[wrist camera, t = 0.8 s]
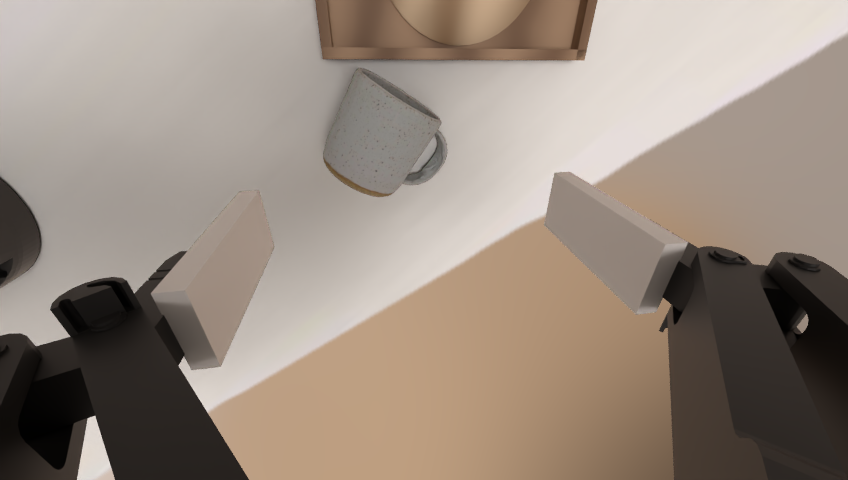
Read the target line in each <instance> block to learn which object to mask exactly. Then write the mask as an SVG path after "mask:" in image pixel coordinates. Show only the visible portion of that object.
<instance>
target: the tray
mask: <svg viewBox="0 0 848 480" xmlns="http://www.w3.org/2000/svg"><path fill="white" fill-rule="evenodd" d="M315 2H316V10H317V17H318V25H319V33H320V41H321V49H322V57H323V59H425V60H584V59H585V55H586V50H587V45H588V41H589V36H590V32H591V27H592V23H593V18H594V14H595V9H596V4H597V0H315Z"/></svg>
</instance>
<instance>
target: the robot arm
mask: <svg viewBox="0 0 848 480" xmlns="http://www.w3.org/2000/svg"><path fill="white" fill-rule="evenodd" d="M544 226H546V227H547V228H548V229H549V230H550V231H551V232H552V233H553V234H554V235H555V236H556V237H557V238H558V239H559V240H560V241H561V242H562V243H563V244H564V245H565V246H566V247H567V248H568V249H569V250H570V251H571V252H572V253H573V254H574V255H575V256H576V257H577V258H578V259H579V260H580V261H581V262H583V264H585V265H586V266H587V267H588V268H589V269H590V270H591V271H592V272H593V273H594V274H595V275H596V276H597V277H598V278H599V279H600V280H601V281H602V282H603V283H604V284H605V285H606V286H607V287H608V288H609V289H610V290H611V291H612V292H613V293H614V294H615V295H616V296H617V297H618V298H619V299H620V300H621V301H622V302H624V304H626V305H627V306H628V307H629V308H630V309H631V310H632V311H633V312H634V313H635V314H636V315H637V314H645V313H652V312H656V311H657V309H658V307H659V305H660V303H661V300H662V298H664V299H666V300H667V301H668V302H669V303H670V304H672V305H671V307H670V309H669V311H668V313H667V315H666V317H665V319H664V321H663V323H662V326H661V327H660V330H659V331H661V332H663V331H664V329H665V328H668V343H669V368H670V390H671V415H672V437H673V462H674V480H848V279H847V278H845V277H844V276H843V275H841V274H840V273H839V272H837V271H836V270H835V269H834V268H832V267H831V266H829V265H827V264H825V263H824V262H821V261H819V260H817V259H816V258H814V257H811V256H807V255H804V254H795V253H788V252H780V253H776V254H775V255H774V257H773V259H772V260H771V262H770V264H769V265H768V266H764V265H754V264H752V263H751V262H750V261H749V260H748V259H747V258H746V257H744V256H742V255H740V254H738V253H736V252H733V251H730V250H727V249H723V248H719V247H712V246H706V247H701V248H697V247H696V246H694V245H692V244H690V243H689V242H687V241H685V240H684V239H682V238H680V237H679V236H677V235H675V234H674V233H671V232H670V231H669V230H667V229H665V228H663V227H661V226H660V225H658V224H657V223H655V222H654V221H652V220H650V219H648V218H646V217H645V216H643V215H641V214H639V213H638V212H636V211H634V210H633V209H631V208H629V207H628V206H626V205H624V204H623V203H621V202H619V201H617V200H616V199H614V198H613V197H611V196H609V195H608V194H606V193H604V192H603V191H601V190H599V189H598V188H596V187H594V186H593V185H591V184H589V183H587V182H586V181H584V180H582V179H581V178H579V177H577V176H576V175H574V174H572V173H571V172H560V173H554V178H553V183H552V188H551V193H550V198H549V203H548V208H547V213H546V218H545V223H544ZM39 249H40V236H39V232H38V228H37V225H36V223H35V221H34V219H33V217H32V215H31V213H30V211H29V210H28V208H27V207H26V206H25V204H24V203H23V202H22V200H21V199H20V198H19V197H18V196H17V194H16V193H15V192H14V191H13V190H12V189H11V188H10V187H9V186H8V185H7V184H5V183H4V182H3V181H2V180H1V179H0V288H1V287H3V286H5V285H6V284H8V283H9V282H11V281H12V280H14V279H16V278H17V277H19V276H20V275H22V274H23V273H25V272H26V271H27V270H28V269H29V268H30V267H31V266H32V265H33V264H34V262H35V261H36V259H37V257H38V254H39ZM273 249H274V244H273V240H272V236H271V233H270V229H269V225H268V222H267V218H266V214H265V211H264V207H263V203H262V199H261V196H260V192H259V190H258V191H241V192H239V193H238V194H237V195H236V196H235V197H234V198H233V200H232V201H231V202H230V203H229V204H228V205H227V206H226V208H225V209H224V210H223V211H222V212H221V213H220V214H219V216H218V217H217V218H216V219H215V220H214V221H213V223H212V224H211V225H210V226H209V227H208V228H207V229H206V231H205V232H204V233H203V234H202V235H201V236H200V237H199V239H198V240H197V241H196V242H195V243H194V244H193V245H192V247H191V248H190V249H189V250H188V251H181V252H179V253H177V254H175V255H174V256H172V257H171V258H169V259H167V260H166V261H165V262H164V263H163V264H162V265H161V266H160V267H159V268H158V269H157V270H156V272H154V273H153V275H152V276H151V277H150V278H149V281H146V282H145V283H144V284H143V285H142V286H141V287H140V288H139V289H138V291H137V292H136V293H135V294H134V293H133V291H132V289H131V287H130V286H129V284H128V282H127V281H126V280H124V279H123V278H117V277H110V278H103V279H98V280H94V281H91V282H87V283H84V284H82V285H80V286H77V287H75V288H73V289H71V290H69V291H67V292H66V293H64V294H62V295H61V296H59V297H58V298H57V299H56V300H55V301H54V302H53V303H52V306H51V309H50V310H51V311H52V313H53V314H54V315H55V317H56V318H57V319H58V321H59V322H60V323H61V324H62V326H63V327H64V328H65V330H66V331H67V332H68V334H69V335H70V336H71V337H69V338H65V339H61V340H58V341H54V342H51V343H47V344H43V345H40V346H35V345H34V344H33V343H32V341H31V340H30V339H29V338H28V337H27V336H25V335H23V334H7V335H2V336H0V480H77V475H78V469H79V464H80V458H81V452H82V447H83V441H84V435H85V430H86V424H87V418H89V417H92V416H96V419H97V422H98V426H99V429H100V432H101V435H102V439H103V442H104V445H105V448H106V452H107V455H108V458H109V461H110V465H111V468H112V471H113V474H114V477H115V480H249V479H248V477H247V476H246V474H245V473H244V471H243V469H242V468H241V466H240V465H239V463H238V461H237V460H236V458H235V456H234V455H233V453H232V452H231V450H230V449H229V447H228V445H227V444H226V442H225V441H224V439H223V437H222V436H221V434H220V432H219V431H218V429H217V427H216V426H215V424H214V423H213V421H212V419H211V418H210V416H209V415H208V413H207V411H206V410H205V408H204V407H203V405H202V403H201V402H200V400H199V399H198V397H197V395H196V394H195V392H194V390H193V389H192V387H191V386H190V384H189V382H188V381H187V379H186V378H185V376H184V374H183V373H182V371H181V370H180V368H179V366H178V365H179V364H180V362H181V360H182V358H183V357H185V359H186V361H187V362H188V364H189V366H190V368H191V370H197V369H205V368H213V367H221V365H222V363H223V360H224V358H225V356H226V354H227V351H228V349H229V347H230V345H231V343H232V340H233V338H234V336H235V334H236V331H237V329H238V327H239V325H240V323H241V320H242V318H243V316H244V314H245V311H246V309H247V307H248V305H249V303H250V300H251V298H252V296H253V294H254V291H255V289H256V287H257V285H258V283H259V280H260V278H261V276H262V274H263V271H264V269H265V267H266V265H267V263H268V260H269V258H270V256H271V254H272V251H273ZM806 314H807V315H808V319H809V321H808V326H807V328H806V330H805V331H804V332H803V333H801V332H800V331H799V330H798V328H797V325H798V324H799V323H800V322H801V320H802V319H803V318H804V316H805V315H806Z"/></svg>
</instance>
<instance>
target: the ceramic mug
mask: <svg viewBox="0 0 848 480" xmlns="http://www.w3.org/2000/svg"><path fill="white" fill-rule="evenodd" d="M440 124H441V120H440V119H439V118H438V116H436V115H435V114H434V113H433V112H432V111H430V110H429V109H428V108H426V107H425V106H424V105H422V104H421V103H420V102H418V101H417V100H416V99H414V98H413V97H411V96H409V95H408V94H406V93H405V92H404V91H402V90H401V89H399V88H398V87H396V86H394V85H393V84H391V83H390V82H388V81H386V80H385V79H383V78H381V77H379V76H378V75H376V74H374V73H372V72H370V71H368V70H365V69H362V68H358V69H357V70H356V72H355V74H354V76H353V79H352V81H351V84H350V86H349V88H348V91H347V93H346V95H345V98H344V100H343V102H342V105H341V107H340V109H339V112H338V115H337V117H336V119H335V122H334V124H333V126H332V128H331V131H330V133H329V135H328V137H327V140H326V144H325V148H324V152H323V158H324V162H325V164H326V166H327V168H328V169H329V171H330V172H331V173H332V174H333V175H334V176H335V177H336V178H338V179H339V180H340V181H341V182H343V183H344V184H346V185H348V186H349V187H351V188H353V189H355V190H357V191H359V192H362V193H364V194H368V195H371V196H376V197H384V196H389V195H391V194H392V193H394V192H395V191H396V190H397V189H398V187H399V186H400V185H401V184H402V183H403V184H406V185H419V184H421V183H424V182H426V181H428V180H429V179H431V178H432V177H433V176H434V175H435V174H436V173H437V172H438V171H439V170H440V168H441V167H442V165H443V164H444V162H445V159H446V156H447V144H446V140H445V139H444V137H443V135H442V133H441V132H440V131H439V130H438V128H439V126H440ZM434 134H435V136H436V137H437V141H438V146H437V149H436V152H435V154H434V155H433V157H432V158H431V160H430V161H429V162H428V163H427V165H426V166H425V167H423V169H422V171H420V172H418V173H416V174H412V175H408V174H409V172H410V170H411V168H412V167H413V165H414V164H415V162H416V161H417V159H418V158H419V156H420V155H421V154H422V152H423V151H424V149H425V148H426V146H427V145H428V143H429V142H430V140H431V139H432V137H433V136H434Z"/></svg>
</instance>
